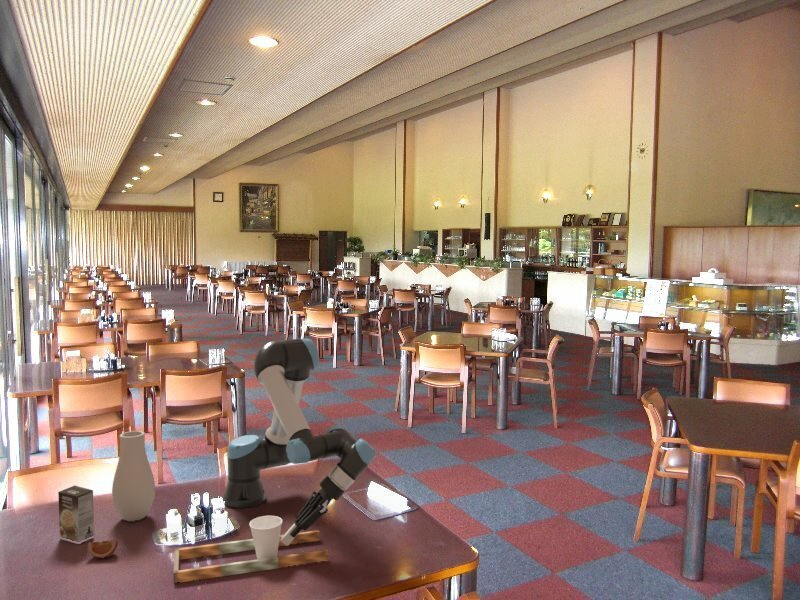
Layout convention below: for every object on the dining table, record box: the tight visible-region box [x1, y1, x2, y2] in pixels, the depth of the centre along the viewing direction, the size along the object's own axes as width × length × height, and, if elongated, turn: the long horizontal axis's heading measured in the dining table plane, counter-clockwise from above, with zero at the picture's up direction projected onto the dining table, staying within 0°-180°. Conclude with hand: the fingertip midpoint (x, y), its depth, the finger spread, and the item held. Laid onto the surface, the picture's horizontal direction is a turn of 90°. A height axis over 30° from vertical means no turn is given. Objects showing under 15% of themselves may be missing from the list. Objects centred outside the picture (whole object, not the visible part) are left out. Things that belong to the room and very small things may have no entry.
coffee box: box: [57, 485, 95, 542], centre depth 209 cm, size 9×6×16 cm
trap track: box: [173, 529, 329, 584], centre depth 196 cm, size 44×15×3 cm, turn 108°
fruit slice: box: [87, 539, 119, 559], centre depth 198 cm, size 8×7×5 cm
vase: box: [111, 430, 156, 522], centre depth 224 cm, size 14×14×30 cm
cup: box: [248, 515, 283, 559], centre depth 197 cm, size 10×10×11 cm
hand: (283, 542), depth 198 cm, fingers closed
